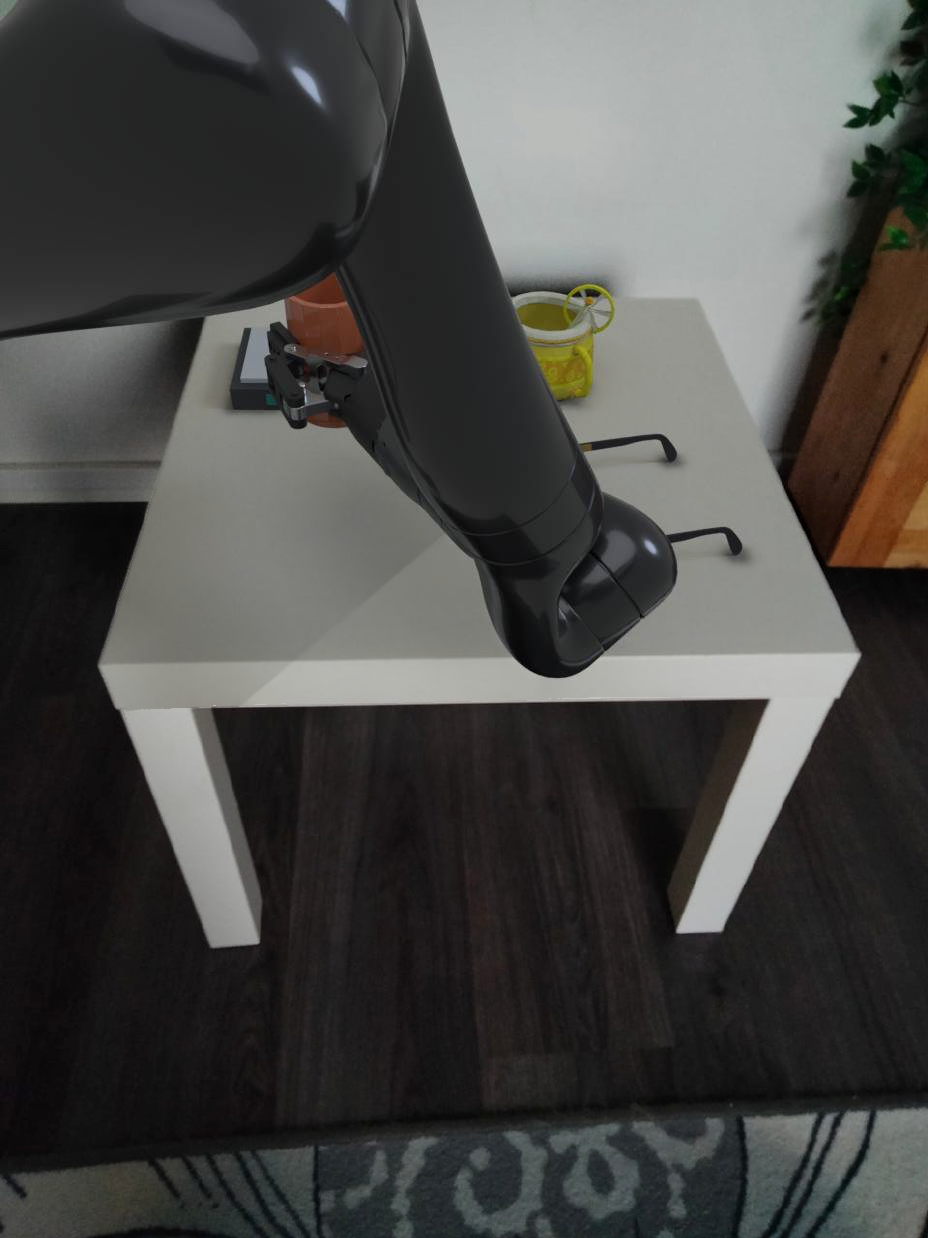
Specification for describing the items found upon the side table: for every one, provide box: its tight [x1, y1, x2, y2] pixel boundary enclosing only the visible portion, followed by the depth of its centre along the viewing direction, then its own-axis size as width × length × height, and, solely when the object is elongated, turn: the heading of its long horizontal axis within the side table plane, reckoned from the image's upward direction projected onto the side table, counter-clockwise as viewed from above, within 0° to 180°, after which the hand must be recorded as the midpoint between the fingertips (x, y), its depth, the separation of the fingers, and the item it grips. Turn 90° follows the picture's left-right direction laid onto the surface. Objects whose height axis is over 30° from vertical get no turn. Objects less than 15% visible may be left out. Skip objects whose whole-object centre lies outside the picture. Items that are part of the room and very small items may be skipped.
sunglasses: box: [579, 433, 743, 556], centre depth 80 cm, size 14×15×5 cm
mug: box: [511, 283, 616, 401], centre depth 91 cm, size 13×11×12 cm
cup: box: [283, 272, 365, 429], centre depth 68 cm, size 6×6×10 cm
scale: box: [229, 326, 288, 410], centre depth 94 cm, size 12×12×3 cm
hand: (316, 323), depth 68 cm, fingers closed on cup, 6 cm apart
